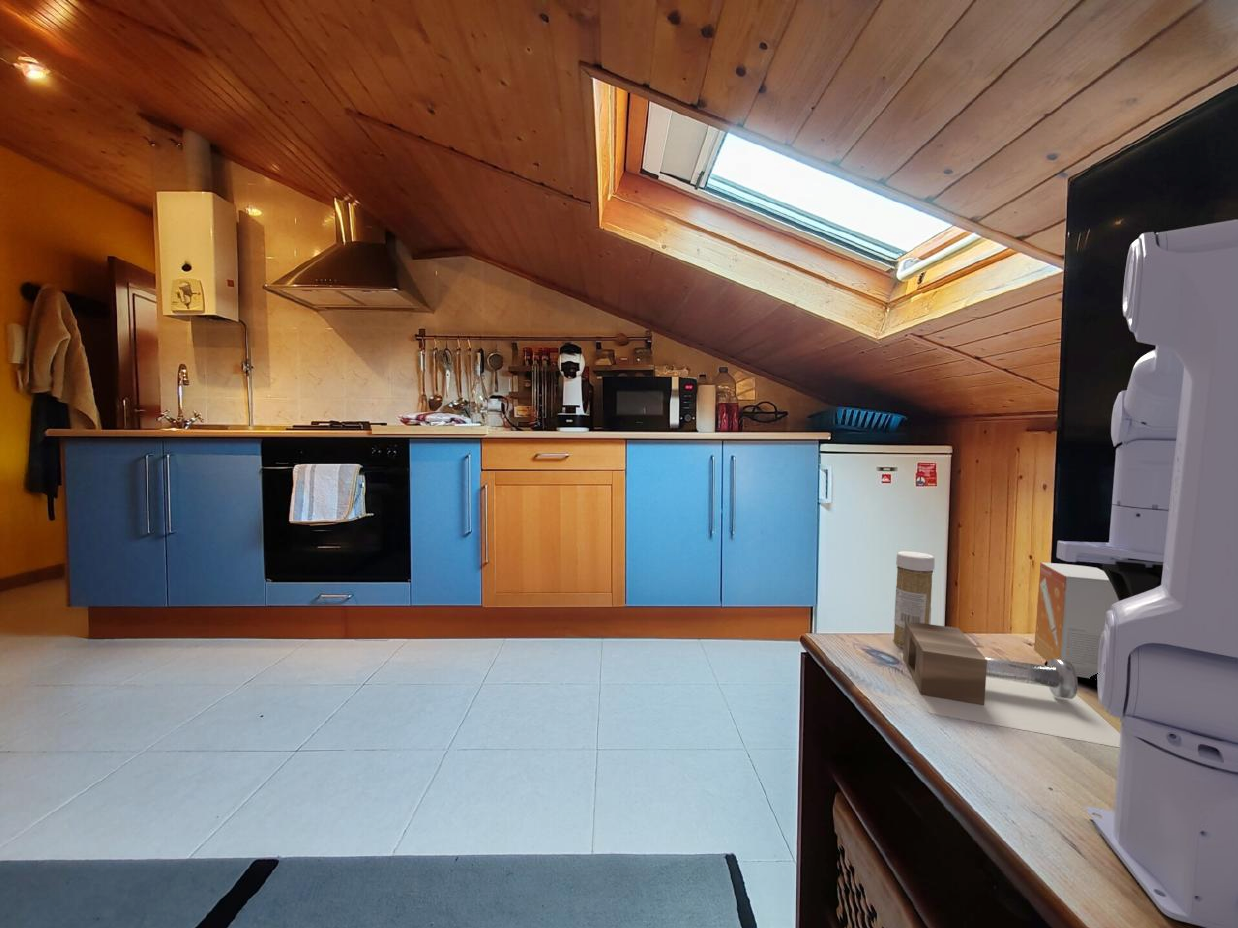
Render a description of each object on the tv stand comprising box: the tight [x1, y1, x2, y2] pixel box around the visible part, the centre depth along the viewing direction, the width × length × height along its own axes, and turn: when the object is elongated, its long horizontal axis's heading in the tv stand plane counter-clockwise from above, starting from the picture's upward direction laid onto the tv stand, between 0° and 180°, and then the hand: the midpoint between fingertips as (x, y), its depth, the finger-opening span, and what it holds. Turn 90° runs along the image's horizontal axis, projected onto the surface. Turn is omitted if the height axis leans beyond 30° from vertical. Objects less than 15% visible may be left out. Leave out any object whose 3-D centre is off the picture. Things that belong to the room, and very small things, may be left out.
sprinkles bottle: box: [892, 550, 935, 648], centre depth 70 cm, size 5×5×14 cm
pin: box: [984, 656, 1079, 699], centre depth 58 cm, size 4×12×4 cm, turn 70°
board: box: [899, 652, 1120, 749], centre depth 57 cm, size 16×17×1 cm
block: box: [902, 621, 987, 706], centre depth 60 cm, size 10×6×5 cm, turn 160°
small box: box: [1033, 561, 1119, 679], centre depth 65 cm, size 8×6×13 cm
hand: (1139, 634), depth 53 cm, fingers closed
